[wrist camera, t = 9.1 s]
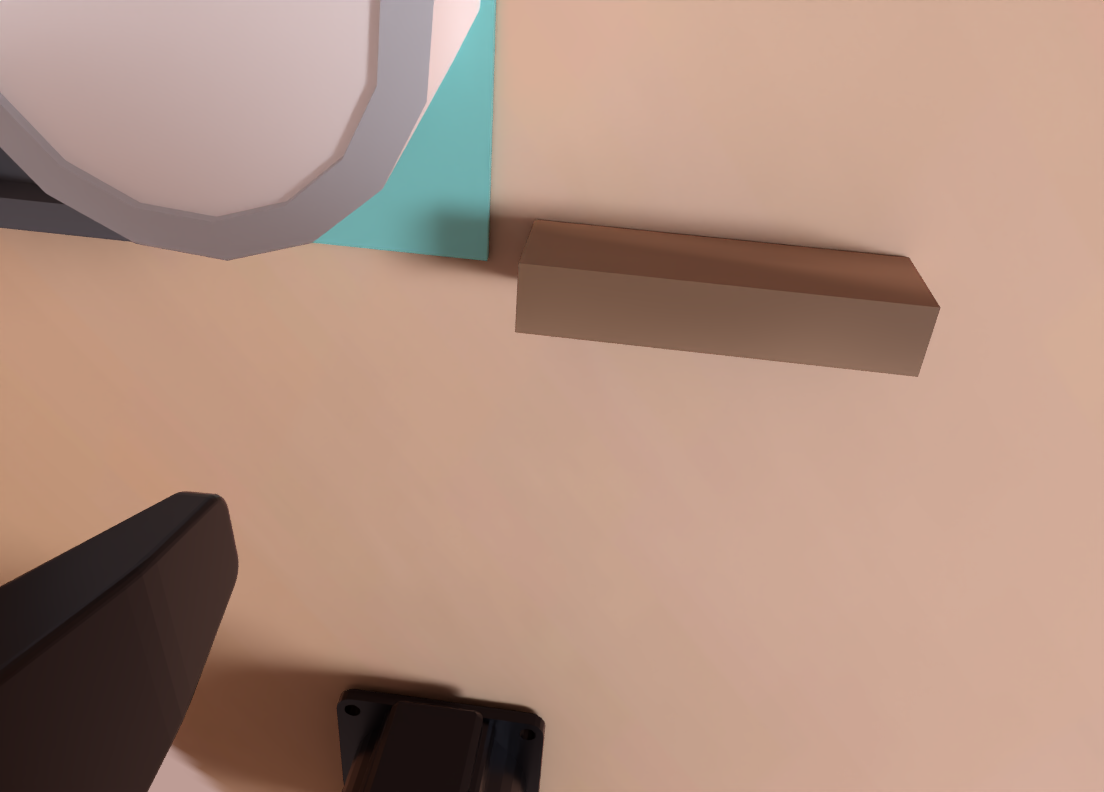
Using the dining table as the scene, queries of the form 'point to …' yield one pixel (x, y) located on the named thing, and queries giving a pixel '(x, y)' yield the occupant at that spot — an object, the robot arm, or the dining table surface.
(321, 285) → the dining table surface
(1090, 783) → the dining table surface
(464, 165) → the teal pad
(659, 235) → the brown bar
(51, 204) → the trap pit
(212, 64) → the white cup
